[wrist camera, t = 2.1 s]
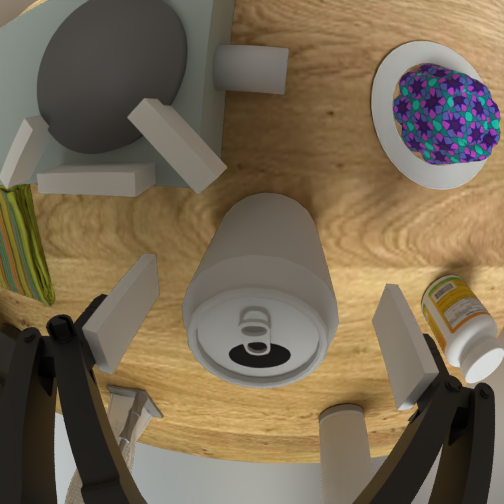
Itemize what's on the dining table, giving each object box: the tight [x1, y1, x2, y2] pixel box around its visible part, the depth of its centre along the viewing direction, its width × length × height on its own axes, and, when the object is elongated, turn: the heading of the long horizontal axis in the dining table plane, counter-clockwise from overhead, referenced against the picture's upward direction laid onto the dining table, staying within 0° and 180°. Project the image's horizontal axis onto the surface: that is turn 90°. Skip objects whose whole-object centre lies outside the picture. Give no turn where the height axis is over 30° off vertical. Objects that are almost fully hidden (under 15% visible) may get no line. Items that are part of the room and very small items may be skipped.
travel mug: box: [319, 404, 373, 504], centre depth 24 cm, size 6×7×20 cm
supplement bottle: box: [422, 275, 504, 383], centre depth 19 cm, size 5×5×10 cm
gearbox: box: [0, 0, 289, 197], centre depth 14 cm, size 24×14×8 cm, turn 85°
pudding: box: [371, 41, 500, 190], centre depth 14 cm, size 12×12×5 cm
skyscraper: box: [65, 385, 164, 504], centre depth 25 cm, size 8×8×28 cm
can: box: [182, 193, 339, 389], centre depth 17 cm, size 8×8×12 cm
